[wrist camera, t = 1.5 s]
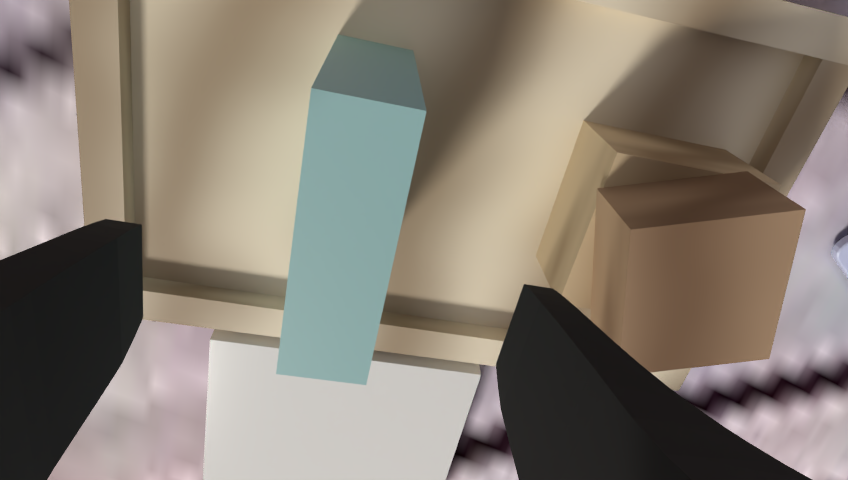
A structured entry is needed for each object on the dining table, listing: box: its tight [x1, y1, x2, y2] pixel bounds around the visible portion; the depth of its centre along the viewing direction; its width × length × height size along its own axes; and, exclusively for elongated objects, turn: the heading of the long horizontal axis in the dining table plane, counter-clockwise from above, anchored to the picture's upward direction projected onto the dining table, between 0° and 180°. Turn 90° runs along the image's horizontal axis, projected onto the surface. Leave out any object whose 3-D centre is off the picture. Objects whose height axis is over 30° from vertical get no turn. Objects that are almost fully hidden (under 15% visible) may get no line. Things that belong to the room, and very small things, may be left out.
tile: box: [203, 329, 481, 480], centre depth 24 cm, size 10×10×2 cm
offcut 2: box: [590, 171, 806, 373], centre depth 16 cm, size 4×5×2 cm
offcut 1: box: [536, 120, 781, 309], centre depth 18 cm, size 5×5×3 cm
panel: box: [276, 34, 426, 385], centre depth 15 cm, size 2×7×6 cm, turn 168°
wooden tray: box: [69, 0, 848, 391], centre depth 19 cm, size 22×14×2 cm, turn 78°
